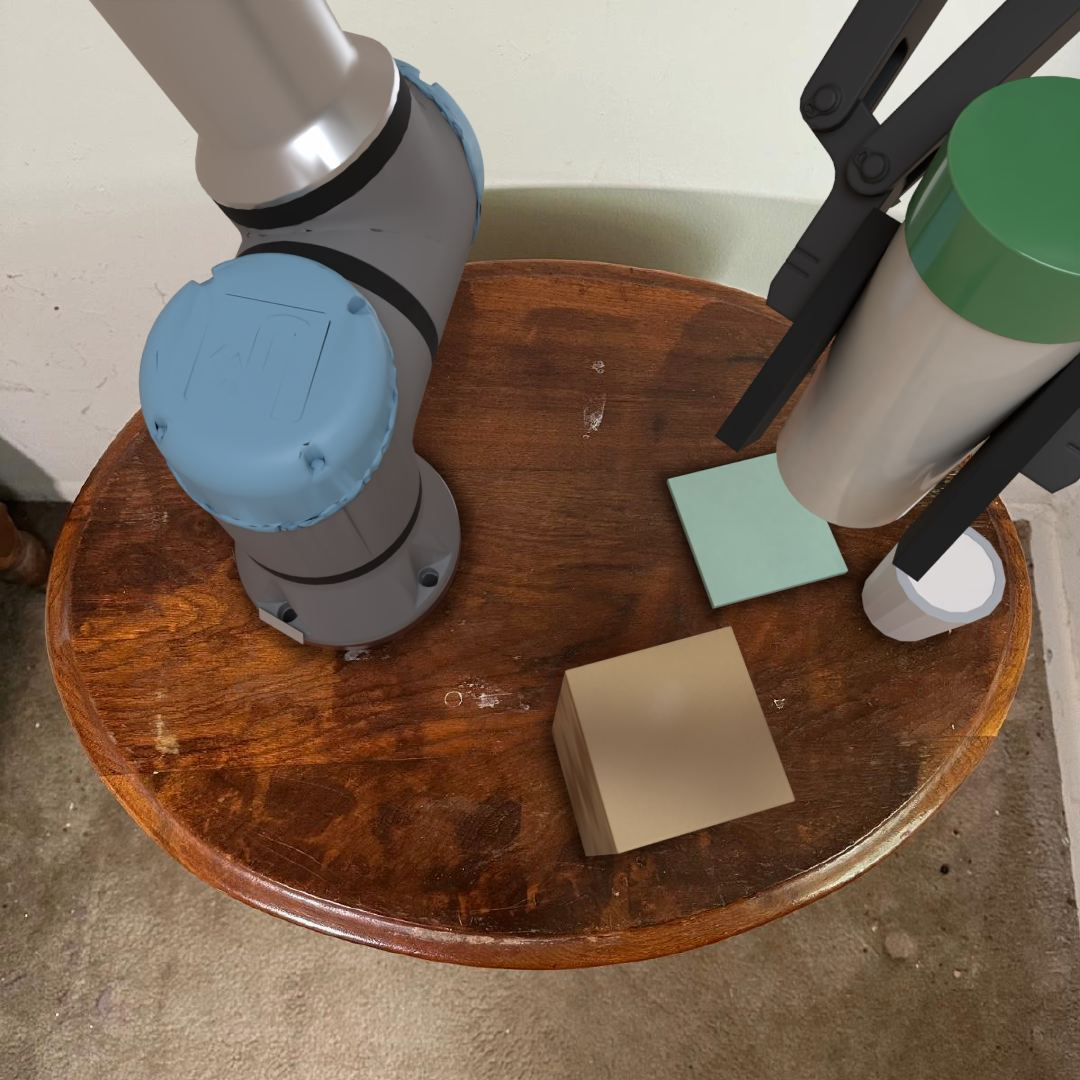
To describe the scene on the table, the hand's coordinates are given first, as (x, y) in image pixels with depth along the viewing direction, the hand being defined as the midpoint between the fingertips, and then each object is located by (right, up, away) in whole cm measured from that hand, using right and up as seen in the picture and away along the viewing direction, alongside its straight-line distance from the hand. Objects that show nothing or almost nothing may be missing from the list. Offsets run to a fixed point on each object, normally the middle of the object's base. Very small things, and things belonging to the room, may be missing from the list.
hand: (821, 495), depth 22 cm
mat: (+8, 0, +37) cm, 38 cm away
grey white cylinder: (+18, -6, +35) cm, 40 cm away
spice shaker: (+2, +1, +4) cm, 5 cm away
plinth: (-2, -16, +30) cm, 35 cm away
